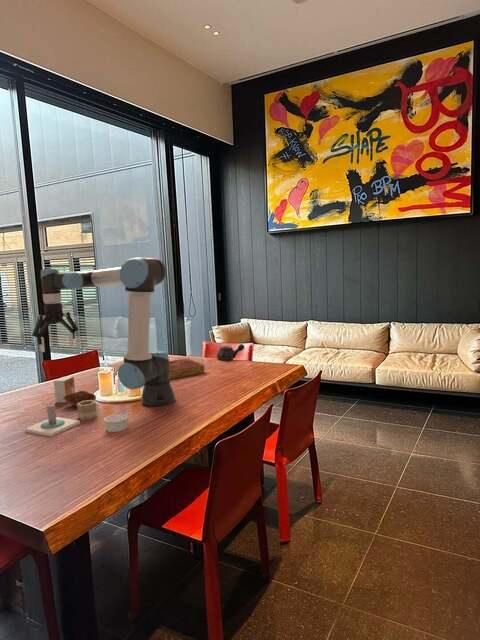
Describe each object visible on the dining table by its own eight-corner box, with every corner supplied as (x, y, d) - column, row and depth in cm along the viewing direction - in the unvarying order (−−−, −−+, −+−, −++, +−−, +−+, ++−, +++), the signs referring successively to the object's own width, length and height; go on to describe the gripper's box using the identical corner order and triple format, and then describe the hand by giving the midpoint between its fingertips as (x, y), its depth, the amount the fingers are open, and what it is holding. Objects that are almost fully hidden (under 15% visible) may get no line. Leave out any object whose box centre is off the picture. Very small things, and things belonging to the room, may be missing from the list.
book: (187, 366, 264) (187, 358, 264) (205, 373, 244) (204, 365, 243) (141, 374, 249) (140, 365, 249) (155, 382, 229) (154, 373, 228)
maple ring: (100, 414, 180) (99, 401, 179) (87, 420, 173) (86, 406, 173) (87, 413, 183) (86, 399, 182) (74, 418, 176) (73, 404, 176)
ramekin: (109, 424, 168) (108, 414, 168) (131, 424, 168) (130, 413, 167) (101, 433, 159) (100, 422, 159) (124, 432, 159) (123, 421, 158)
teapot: (213, 361, 271) (212, 346, 270) (219, 356, 286) (218, 341, 285) (242, 362, 268) (242, 346, 266) (247, 356, 283) (246, 341, 281)
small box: (66, 403, 198) (64, 380, 197) (55, 402, 199) (53, 380, 198) (76, 397, 206) (74, 376, 205) (65, 397, 207) (63, 376, 206)
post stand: (80, 423, 170) (78, 402, 169) (50, 436, 158) (48, 413, 157) (55, 419, 177) (53, 398, 176) (25, 431, 164) (22, 409, 163)
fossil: (101, 396, 195) (86, 380, 191) (92, 409, 188) (77, 394, 184) (82, 403, 200) (67, 388, 196) (73, 416, 194) (58, 401, 190)
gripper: (75, 300, 206) (79, 343, 208) (20, 305, 187) (26, 353, 190) (82, 300, 201) (87, 345, 203) (27, 305, 182) (33, 354, 185)
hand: (57, 349), depth 197 cm, fingers open, 13 cm apart
